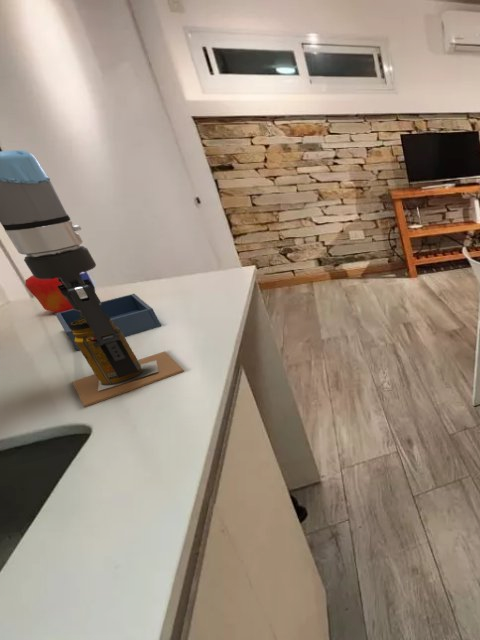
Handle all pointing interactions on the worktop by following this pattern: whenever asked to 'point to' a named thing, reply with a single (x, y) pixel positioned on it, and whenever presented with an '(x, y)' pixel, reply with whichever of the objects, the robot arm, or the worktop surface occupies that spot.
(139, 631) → the worktop surface
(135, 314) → the bin
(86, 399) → the mat
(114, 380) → the condiment
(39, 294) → the apple
